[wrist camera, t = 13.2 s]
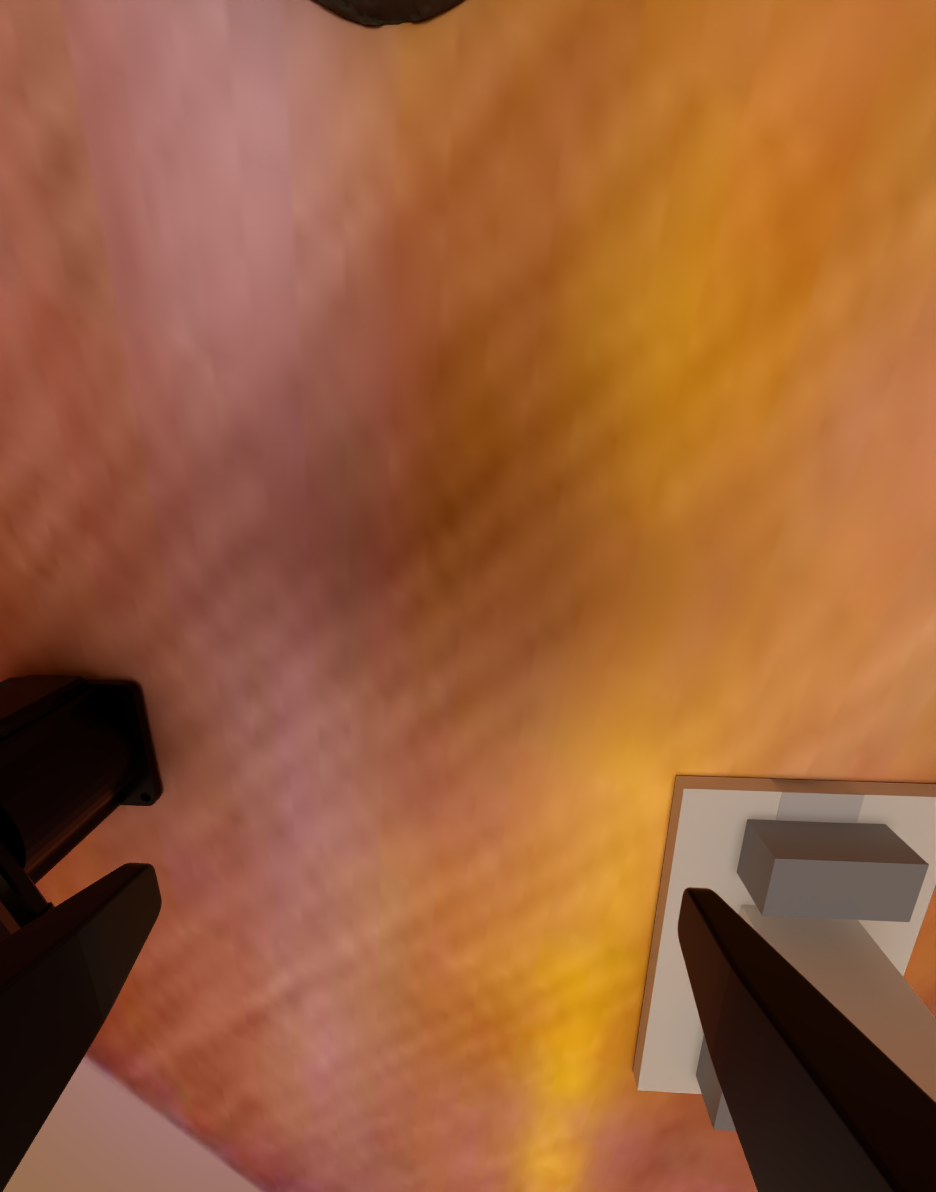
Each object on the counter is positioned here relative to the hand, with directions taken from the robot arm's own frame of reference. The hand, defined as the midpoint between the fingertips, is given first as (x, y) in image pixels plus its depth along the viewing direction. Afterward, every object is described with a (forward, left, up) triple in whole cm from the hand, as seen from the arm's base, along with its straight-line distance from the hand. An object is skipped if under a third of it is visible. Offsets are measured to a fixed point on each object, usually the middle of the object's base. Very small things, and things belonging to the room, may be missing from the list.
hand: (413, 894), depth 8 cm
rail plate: (-17, -16, -13) cm, 27 cm away
